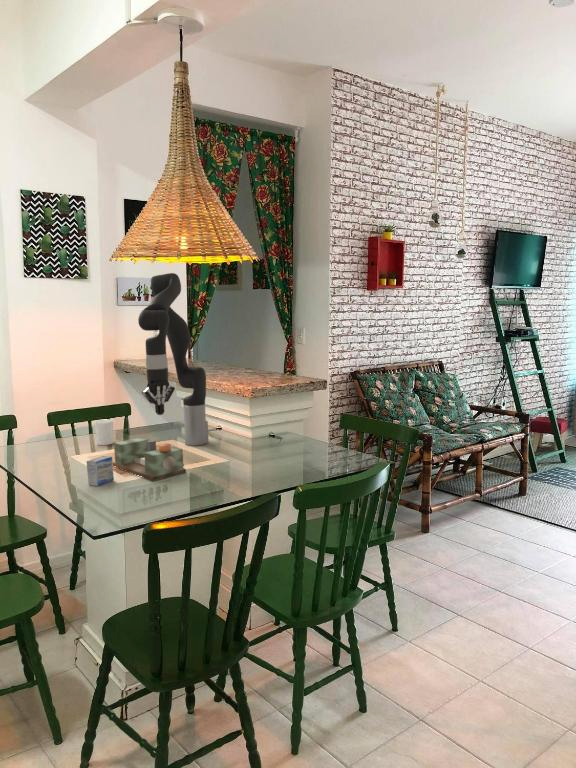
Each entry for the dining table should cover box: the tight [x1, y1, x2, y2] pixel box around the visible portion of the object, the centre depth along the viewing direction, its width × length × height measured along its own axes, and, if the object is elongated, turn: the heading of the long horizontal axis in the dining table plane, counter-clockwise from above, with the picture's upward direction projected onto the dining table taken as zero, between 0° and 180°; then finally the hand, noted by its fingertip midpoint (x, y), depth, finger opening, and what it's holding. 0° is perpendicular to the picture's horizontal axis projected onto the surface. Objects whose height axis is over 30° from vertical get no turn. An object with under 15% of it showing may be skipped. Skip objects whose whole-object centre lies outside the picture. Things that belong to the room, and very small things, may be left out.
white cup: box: [94, 419, 114, 446], centre depth 278 cm, size 8×8×10 cm
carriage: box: [140, 439, 157, 465], centre depth 231 cm, size 8×6×9 cm
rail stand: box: [113, 437, 187, 482], centre depth 235 cm, size 14×28×9 cm, turn 43°
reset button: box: [158, 443, 172, 452], centre depth 225 cm, size 4×4×2 cm
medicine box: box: [86, 455, 115, 487], centre depth 220 cm, size 8×4×9 cm, turn 151°
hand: (160, 414), depth 229 cm, fingers closed
